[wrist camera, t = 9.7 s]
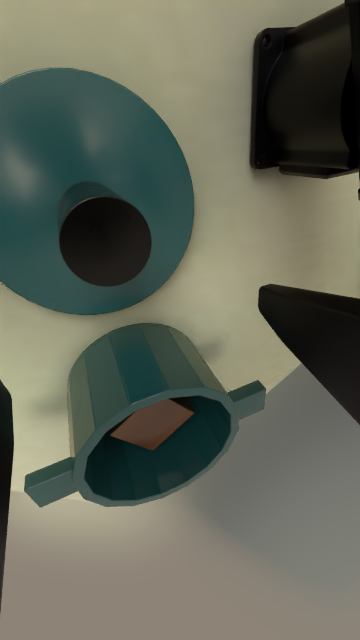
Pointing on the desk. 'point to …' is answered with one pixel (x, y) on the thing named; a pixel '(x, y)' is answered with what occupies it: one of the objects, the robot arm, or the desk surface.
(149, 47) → the desk surface
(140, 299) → the lid
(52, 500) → the pot
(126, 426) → the walnut block
